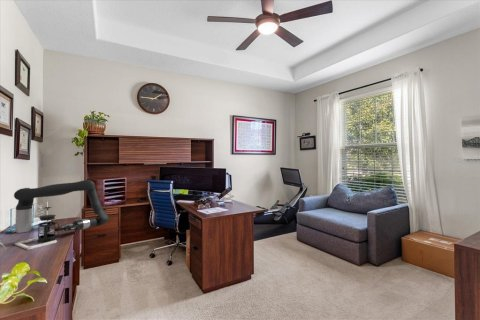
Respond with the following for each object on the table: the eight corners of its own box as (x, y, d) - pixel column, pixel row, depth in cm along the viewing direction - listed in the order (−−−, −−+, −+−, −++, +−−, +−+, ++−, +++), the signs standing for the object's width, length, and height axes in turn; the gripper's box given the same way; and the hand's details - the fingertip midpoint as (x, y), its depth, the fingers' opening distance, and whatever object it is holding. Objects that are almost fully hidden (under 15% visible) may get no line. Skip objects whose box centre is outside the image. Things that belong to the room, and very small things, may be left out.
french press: (34, 244, 151) (35, 209, 151) (38, 239, 159) (39, 206, 160) (57, 241, 157) (58, 207, 157) (59, 237, 165) (60, 205, 165)
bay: (14, 244, 150) (14, 242, 150) (43, 237, 164) (43, 236, 164) (27, 249, 142) (27, 247, 142) (56, 242, 155) (56, 240, 155)
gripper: (76, 218, 181) (50, 223, 165) (86, 220, 175) (60, 226, 159) (76, 228, 181) (50, 234, 165) (86, 230, 175) (60, 236, 159)
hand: (55, 230), depth 162 cm, fingers closed
